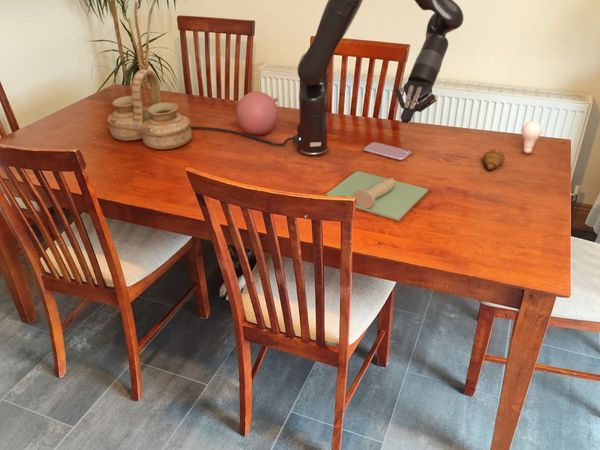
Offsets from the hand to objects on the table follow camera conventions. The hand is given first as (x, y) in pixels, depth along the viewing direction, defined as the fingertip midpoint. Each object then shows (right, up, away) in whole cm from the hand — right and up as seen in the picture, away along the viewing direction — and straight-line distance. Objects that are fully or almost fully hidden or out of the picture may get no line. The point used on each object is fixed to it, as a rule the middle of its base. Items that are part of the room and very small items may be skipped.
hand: (404, 121), depth 158 cm
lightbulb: (+46, -6, +26) cm, 53 cm away
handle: (-3, -17, +4) cm, 18 cm away
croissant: (+32, -10, +20) cm, 39 cm away
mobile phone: (-1, -5, +29) cm, 29 cm away
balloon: (-44, +5, +47) cm, 65 cm away
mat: (-8, -21, +3) cm, 22 cm away
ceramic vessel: (-85, +2, +43) cm, 95 cm away
